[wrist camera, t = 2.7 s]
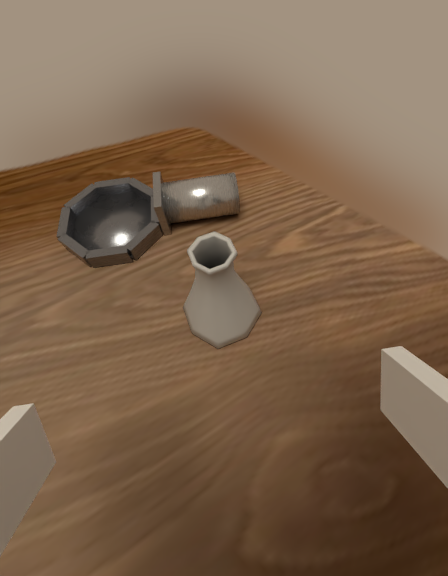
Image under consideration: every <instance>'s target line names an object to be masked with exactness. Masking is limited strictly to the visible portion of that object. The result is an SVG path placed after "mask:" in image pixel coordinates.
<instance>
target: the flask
mask: <svg viewBox="0 0 448 576" xmlns="http://www.w3.org/2000/svg"><path fill="white" fill-rule="evenodd" d="M187 253H188V255H189V257H190V260H191V262H192V265H193V267H194V268H195V269H196V271H195V280H194V283H193V285H192V288H191V291H190V293H189V295H188V297H187V300H186V302H185V304H184V306H183V309H184V312H185V315H186V318H187V321H188V324H189V326H190V329H191V332H192V334H194V335H195V336H197V337H199V338H200V339H202V340H204V341H205V342H207V343H209V344H211V345H212V346H214V347H216V348H217V349H219V348H221V347H224V346H226V345H229V344H231V343H234V342H236V341H239V340H241V339H244V338H246V337H247V336H248V335H249V333H250V331H251V330H252V328H253V326H254V325H255V323H256V321H257V320H258V318H259V316H260V314H261V313H262V312H261V310H260V308H259V306H258V304H257V302H256V300H255V298H254V296H253V294H252V292H251V290H250V288H249V287H248V285H247V284H246V283H245V282H244V281H243V280H242V279H241V278H240V277H239V276H238V274H237V273H236V272H235V270H234V265H233V261H234V259H235V258H236V256H237V251H236V249H235V247H234V245H233V243H232V241H231V239H230V238H228V237H226V236H224V235H222V234H219V233H217V232H215V231H214V232H211V233H208V234H205V235H203V236H200V237H197V238H196V240H195V241H194V242H193V243H192V245H191V246H190V247H189V248H188V250H187Z"/></svg>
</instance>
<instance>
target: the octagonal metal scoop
mask: <svg viewBox="0 0 448 576" xmlns="http://www.w3.org/2000/svg"><path fill="white" fill-rule="evenodd" d="M64 206H65V207H64V208H62V210H61V216H60V221H59V227H58V232H57V238H58V240H59V241H60V242H61V243H62V245H63V246H64V247H65V248H66V249H67V250H69V251H70V252H71V253H73V254H74V255H75V256H76V257H78V258H79V259H80V260H82V261H83V262H84V263H86V264H87V265H88V266H90V267H91V266H93V267H94V268H96V267H103V266H110V265H117V264H124V263H131V262H133V259H135V260H137V259H138V258H140V257H141V256H142V255H143V254H144V253H145V252H146V251H147V250H148V249H149V248H150V247H151V246H152V245H153V244H154V243H155V242H156V241H157V240H158V239H159V238H160V237H161V236H162V235H163V234H162V232H163V233H164V235H170V234H171V223H177V222H184V221H190V220H197V219H204V218H211V217H218V216H225V215H232V214H239V211H240V207H239V194H238V186H237V180H236V176H235V173H227V174H220V175H213V176H206V177H199V178H192V179H185V180H178V181H172V182H165V183H163V179H162V176H161V173H160V172H154V173H153V189H152V188H150V187H148V186H147V185H145V184H143V183H141V182H139V181H138V180H136V179H134V178H132V179H130V177H128V178H121V179H114V180H107V181H100V182H95V185H93V184H90V185H89V186H88V187H87V188H85V189H84V190H83V191H81V192H80V193H79V194H78V195H76V196H75V197H74V198H72V199H71V200H70V201H69V202H67V203H66V204H65V205H64Z"/></svg>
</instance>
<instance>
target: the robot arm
mask: <svg viewBox="0 0 448 576" xmlns="http://www.w3.org/2000/svg"><path fill="white" fill-rule="evenodd" d="M380 410H381V411H382V412H383V413H384V415H385V416H386V417H387V418H388V419H389V421H390V422H391V423H392V424H393V425H394V426H395V428H396V429H397V430H398V431H399V432H400V433H401V435H402V436H403V437H404V438H405V439H406V440H407V442H408V443H409V444H410V445H411V446H412V447H413V449H414V450H415V451H416V452H417V453H418V454H419V456H420V457H421V458H422V459H423V460H424V461H425V463H426V464H427V465H428V466H429V467H430V468H431V470H432V471H433V472H434V473H435V474H436V475H437V477H438V478H439V479H440V480H441V481H442V482H443V484H444V485H445V486H446V487H447V488H448V379H447V378H445V377H444V376H442V375H441V374H440V373H438V372H437V371H435V370H434V369H433V368H431V367H430V366H428V365H427V364H426V363H424V362H423V361H421V360H420V359H419V358H417V357H416V356H414V355H413V354H412V353H410V352H409V351H407V350H406V349H405V348H403V347H402V346H399V347H392V348H386V349H381V409H380ZM55 463H56V460H55V457H54V455H53V452H52V450H51V447H50V444H49V442H48V439H47V437H46V434H45V431H44V429H43V426H42V424H41V421H40V418H39V416H38V413H37V411H36V408H35V405H34V403H33V404H27V405H20V406H14V407H12V408H11V409H10V410H9V411H8V412H7V413H6V414H5V415H4V416H3V417H2V418H1V419H0V556H1V554H2V553H3V551H4V549H5V548H6V546H7V544H8V542H9V541H10V539H11V537H12V536H13V534H14V532H15V531H16V529H17V527H18V526H19V524H20V522H21V520H22V519H23V517H24V515H25V514H26V512H27V510H28V509H29V507H30V505H31V504H32V502H33V500H34V498H35V497H36V495H37V493H38V492H39V490H40V488H41V487H42V485H43V483H44V482H45V480H46V478H47V476H48V475H49V473H50V471H51V470H52V468H53V466H54V465H55Z"/></svg>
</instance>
